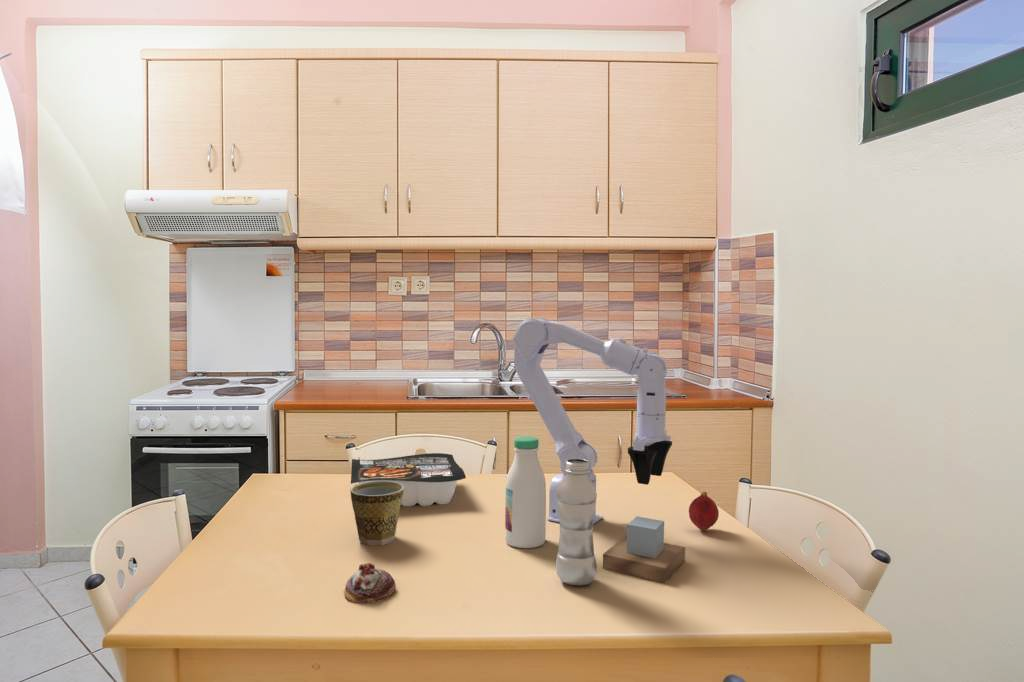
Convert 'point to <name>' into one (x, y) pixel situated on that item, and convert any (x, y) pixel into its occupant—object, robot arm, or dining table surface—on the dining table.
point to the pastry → (369, 584)
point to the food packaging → (413, 476)
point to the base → (644, 561)
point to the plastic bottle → (576, 525)
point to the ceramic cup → (376, 510)
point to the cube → (645, 537)
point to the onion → (703, 512)
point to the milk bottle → (525, 497)
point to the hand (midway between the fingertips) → (649, 479)
